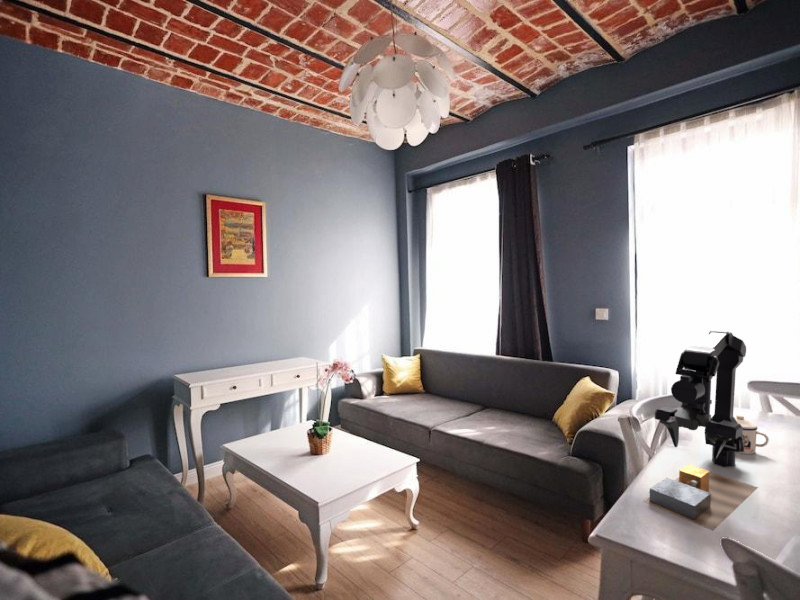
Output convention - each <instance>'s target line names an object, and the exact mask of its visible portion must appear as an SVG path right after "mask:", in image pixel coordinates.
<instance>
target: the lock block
mask: <svg viewBox="0 0 800 600" xmlns="http://www.w3.org/2000/svg"><path fill="white" fill-rule="evenodd" d="M709 472H711V471H710V470H707V469H704V468H700V467H698V466H694V465H691V464H689V463H688V464H687V465H685V466H684V467H682V468H681V469H679V474H678V475H679V477H678V478H679V482H681V483H684V484H686V485H687V484H689V483H690V482H691V481H692V480H693V481H696V482H697V489H700V490H703V491H707V490H708V489H709Z"/></svg>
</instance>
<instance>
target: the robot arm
mask: <svg viewBox="0 0 800 600" xmlns="http://www.w3.org/2000/svg"><path fill="white" fill-rule="evenodd" d="M746 354H747V346H746V344H745V342H744V340H742V339H741V338H739V337H737V336H734V335H733V332H729V330H728V331H727V330H719V329H718V330H717V329H716V330H715V329H713V330H709V332H708V335H707V336H706V338H705V339H704V340H703V341H702V342H701V343H699V344H698V345H695V346H689V347H687V348H686V349H684V350H683V352H681V354H680V356H679V360H678V363H677V367H676V371H675V375H679V376H680V377H679V380H677V381H675V382H674V383H673V384H672V386H671V387H670V388H671V389H670V391H671V395H672V397H673V398H674V399H675V400H676V401H678V402H680V403H681V406H680V407H679V408H678V409H677V408H673V407H669V406H665V405H664V406H662V407H659V408H657V409H656V410H655V412H654V419H655V420H658V421H659V423H660V424H662V425H663V426H665V427H666V429H667V431H668V433H669V436H670V437H671V441H672V443H673V446H674V448H678V446H679V439H680V438H679V435H680V428H684V429H688V430H690V431H696V430H697V429H698V428H701V427H702V428H704V440H705V445H709V446H712V448H711V449H712V450H711V461H712V463H713V464H714V465H716V466H719V467H722V468H726V467H731V468H732V467H735V466H736V458H737V457H736V454H737V453H738V454H740V453H739V452H744V441H743V438H742V432H743V428H742V426H741V425H740V424H738V423H737V421H736V420H735V418H734V409H735V407H734V405H735V390H736V389H735V387H736V374H737V373H736V371H737V369H738V367H740V365H741V364H742V363H743V362H744V358H745V357H746ZM713 377H716V379H715V381H716V382H715V396H714V414H713V416H712V414H711V405H712V401H713V400H712V399H711V397H712V395H711V394H712V393H711V391H712V379H713ZM735 444H736V445H735Z"/></svg>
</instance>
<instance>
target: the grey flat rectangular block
mask: <svg viewBox="0 0 800 600" xmlns="http://www.w3.org/2000/svg"><path fill="white" fill-rule="evenodd" d="M675 480H676V479H673V478H669V477H665V478H664V479H662V480H660V482H657V483H656V484H655V485H653V486H651V487H650V488H649V497H650V499H649V502H651V503H654V504H656V505H658V506H661V507H663V508H666V509H668V510H670V511H673V512H675V513H678V514H680V515H683V516H685V517H687V518H690V519H692V520H696V519H697V518H698V517H699V516H700V515H701V514H703V513H704V512H705V511H706V510H707V509H708V508H709V507H710V503H711V493H709V492H706V491H703V490H700V489H697V482H696V481H691V482H690V483H689V484H687V485H686V484H684V483H681V482H678V481H675Z"/></svg>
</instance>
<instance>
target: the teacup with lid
mask: <svg viewBox="0 0 800 600" xmlns="http://www.w3.org/2000/svg"><path fill="white" fill-rule="evenodd" d="M733 417H734V416H733ZM734 418H735V420H736V421H737V423H738V424H740V425H741V426H742V428H743V432H742V438H743V441H744V452H739V453H738V454H743V455H752V454H756V449H757V447H758V448H762V447H765V446H768V444H769V441H770V440H769V436H768V435H767V434H766V433H764V432H762V431H757V430H758V426H757V424H755V423H754V422H752V421H750V420H748V419H746V418H745V416H744V415H741V414H737V415H736V417H734ZM757 435H761V436H763V437H764V438H765V441H764V443H761V444H759V443H757ZM735 445H736V444H735Z"/></svg>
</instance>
